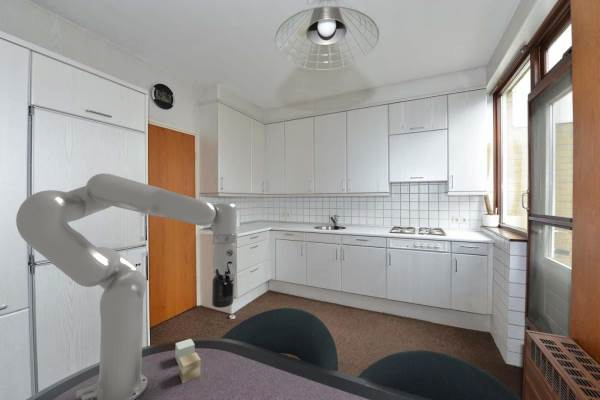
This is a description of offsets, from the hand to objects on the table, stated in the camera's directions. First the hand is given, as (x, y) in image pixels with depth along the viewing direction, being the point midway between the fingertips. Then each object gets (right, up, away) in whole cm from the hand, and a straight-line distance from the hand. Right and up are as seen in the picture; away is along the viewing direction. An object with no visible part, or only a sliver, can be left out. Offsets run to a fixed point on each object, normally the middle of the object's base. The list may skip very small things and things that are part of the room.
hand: (222, 292), depth 81 cm
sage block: (-14, -24, +2) cm, 27 cm away
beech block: (-8, -23, -6) cm, 25 cm away
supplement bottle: (0, -4, 0) cm, 4 cm away
